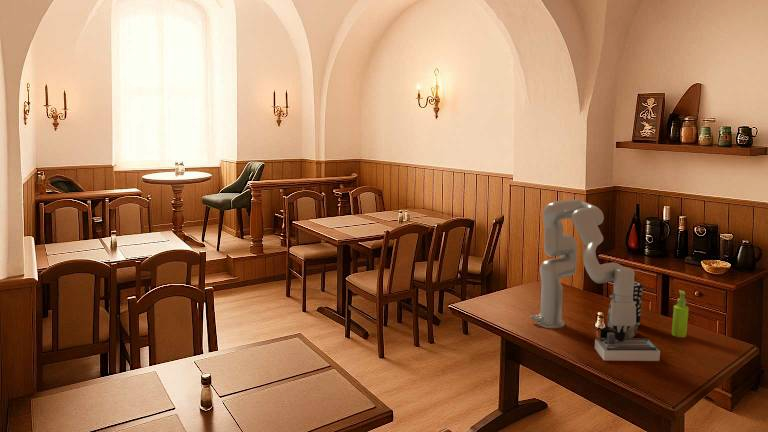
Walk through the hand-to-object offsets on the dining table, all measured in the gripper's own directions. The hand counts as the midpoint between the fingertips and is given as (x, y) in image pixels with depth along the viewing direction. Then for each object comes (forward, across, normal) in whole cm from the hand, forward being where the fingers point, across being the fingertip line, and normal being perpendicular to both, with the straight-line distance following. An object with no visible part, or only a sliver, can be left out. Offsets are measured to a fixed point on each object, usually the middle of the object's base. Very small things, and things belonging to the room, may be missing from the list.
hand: (620, 340), depth 238 cm
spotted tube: (+6, +17, +34) cm, 39 cm away
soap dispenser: (+6, +34, +22) cm, 41 cm away
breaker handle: (+2, -4, 0) cm, 4 cm away
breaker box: (+6, +3, 0) cm, 7 cm away
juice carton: (+7, +6, +18) cm, 21 cm away
